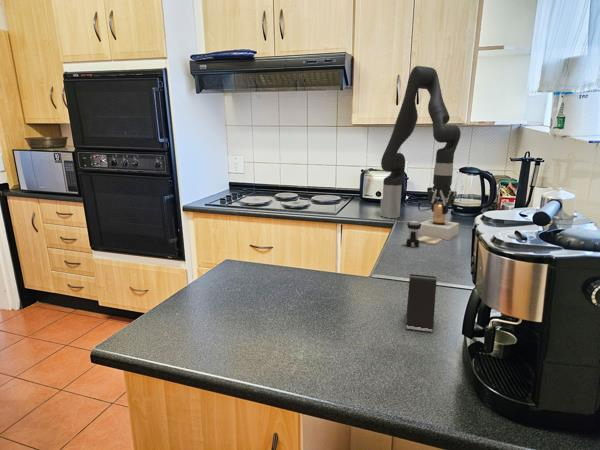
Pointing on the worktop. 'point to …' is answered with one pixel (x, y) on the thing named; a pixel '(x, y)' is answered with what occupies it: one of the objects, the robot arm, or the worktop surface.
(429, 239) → the pad
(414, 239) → the black stand
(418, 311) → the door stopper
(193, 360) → the worktop surface
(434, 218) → the amber cylinder
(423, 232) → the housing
